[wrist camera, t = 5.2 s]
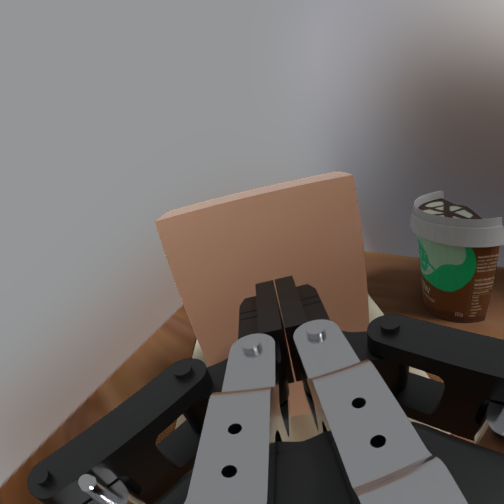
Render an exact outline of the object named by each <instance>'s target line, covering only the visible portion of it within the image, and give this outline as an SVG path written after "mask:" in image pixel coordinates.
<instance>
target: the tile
mask: <svg viewBox="0 0 504 504" xmlns="http://www.w3.org/2000/svg"><path fill="white" fill-rule="evenodd" d="M155 224H156V227H157V230H158V233H159V236H160V239H161V242H162V245H163V249H164V251H165V254H166V257H167V260H168V263H169V266H170V269H171V272H172V275H173V277H174V280H175V283H176V286H177V288H178V291H179V294H180V297H181V299H182V302H183V305H184V307H185V310H186V312H187V315H188V318H189V320H190V323H191V325H192V328H193V330H194V333H195V335H196V338H197V340H198V342H199V345H200V347H201V350H202V352H203V354H204V357H205V359H206V361H207V364H208V366H212V365H214V364H217V363H219V362H222V361H224V360H225V359H227V358H228V357H229V352H230V348H231V346H232V345H233V344H234V343H235V342H236V341H237V340H238V328H239V306H240V305H241V303H242V302H243V300H244V299H245V298H249V297H253V296H256V288H255V284H257V283H262V282H266V281H270V280H273V282H274V286H275V290H276V295H277V299H278V294H277V289H276V284H275V279H279V278H283V277H287V276H291V275H292V277H293V279H294V282H295V285H296V287H297V286H301V285H305V284H309V285H310V286H312V287H314V288H316V291H317V293H318V295H319V297H320V299H321V302H322V303H323V305H324V308H325V310H326V312H327V314H328V316H329V318H330V321H332V322H334V323H336V324H337V325H338V327H339V328H340V330H342V331H347V332H362V331H367V327H368V325H369V307H368V290H367V277H366V265H365V255H364V246H363V237H362V229H361V221H360V214H359V207H358V200H357V194H356V188H355V182H354V176H353V175H352V174H348V173H344V172H339V171H336V172H331V173H325V174H320V175H315V176H311V177H306V178H301V179H296V180H291V181H287V182H283V183H278V184H273V185H269V186H265V187H260V188H256V189H252V190H248V191H243V192H239V193H235V194H231V195H227V196H224V197H219V198H215V199H212V200H208V201H204V202H200V203H197V204H193V205H189V206H185V207H182V208H178V209H175V210H171V211H168V212H167V213H166V214H164V215H163V216H162V217H160V218H159V219H158V220H156V221H155ZM278 303H279V299H278ZM279 308H280V304H279ZM280 312H281V309H280ZM281 316H282V314H281ZM282 321H283V319H282ZM283 325H284V324H283ZM284 330H285V329H284ZM285 336H286V333H285ZM286 341H287V338H286ZM287 346H288V342H287ZM288 351H289V346H288ZM289 356H290V361H291V367H292V372H293V377H294V382H293V383H289V384H288V385H289V399H290V410H291V417H292V416H297V415H302V414H306V413H310V410H309V407H308V404H307V401H306V397H305V392H304V387H303V382H302V381H297V382H296V378H295V373H294V369H293V364H292V360H291V355H290V351H289Z"/></svg>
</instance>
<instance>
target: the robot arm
mask: <svg viewBox="0 0 504 504" xmlns="http://www.w3.org/2000/svg"><path fill="white" fill-rule="evenodd" d="M275 284H276V289H277V294H278V299H279V303H278V299H277V295H276V290H275V286H274V282H273V280H270V281H266V282H262V283H257V284H255V288H256V296H253V297H249V298H245V299H244V300H243V302H242V303H241V305H240V306H239V328H238V340H237V341H236V342H235V343H234V344H233V345H232V346H231V348H230V352H229V357H228V358H227V359H225V360H224V361H222V362H219V363H217V364H214V365H212V366H209V367H206V365H205V363H204V362H203V361H201V360H199V359H195V358H189V359H184V360H180V361H178V362H176V363H174V364H172V365H171V366H170V367H168V368H167V369H166V370H165V371H163V372H162V373H161V374H160V375H158V376H157V377H156V378H154V379H153V380H152V381H151V382H149V383H148V384H147V385H145V386H144V387H143V388H142V389H140V390H139V391H138V392H136V393H135V394H134V395H132V396H131V397H130V398H128V399H127V400H126V401H125V402H123V403H122V404H121V405H119V406H118V407H117V408H115V409H114V410H113V411H111V412H110V413H109V414H107V415H106V416H104V417H103V418H102V419H100V420H99V421H98V422H96V423H95V424H94V425H92V426H91V427H89V428H88V429H87V430H85V431H84V432H83V433H81V434H80V435H78V436H77V437H76V438H74V439H73V440H71V441H70V442H69V443H67V444H66V445H64V446H63V447H62V448H60V449H59V450H57V451H56V452H54V453H53V454H51V455H50V456H49V457H47V458H46V459H44V460H43V461H41V462H40V463H38V464H37V465H36V466H35V467H34V468H33V469H32V470H31V472H30V473H29V476H28V481H27V485H28V489H29V491H30V493H31V494H32V495H33V496H34V497H36V498H37V499H38V500H40V501H41V502H42V503H44V504H504V340H502V339H497V338H493V337H489V336H484V335H480V334H476V333H471V332H467V331H463V330H459V329H454V328H450V327H446V326H442V325H438V324H434V323H430V322H426V321H421V320H417V319H413V318H409V317H405V316H402V315H396V314H388V315H383V316H380V317H377V318H375V319H374V320H372V321H371V322H370V323H369V325H368V327H367V331H362V332H347V331H342V330H340V328H339V327H338V325H337V324H336V323H334V322H332V321H330V318H329V316H328V314H327V312H326V310H325V308H324V305H323V303H322V302H321V299H320V297H319V295H318V293H317V291H316V288H314V287H312V286H310V285H309V284H305V285H301V286H297V287H296V285H295V282H294V279H293V277H292V275H291V276H287V277H283V278H279V279H275ZM279 304H280V308H279ZM280 309H281V312H280ZM281 314H282V316H281ZM282 319H283V321H282ZM283 324H284V325H283ZM284 329H285V330H284ZM285 333H286V336H285ZM286 338H287V341H286ZM287 342H288V346H289V351H290V355H291V360H292V364H293V369H294V373H295V378H296V382H297V381H302V382H303V387H304V392H305V397H306V401H307V404H308V407H309V410H310V413H311V416H312V419H313V422H314V425H315V428H316V431H317V434H318V435H317V436H314V437H312V438H310V439H307V440H305V441H300V442H292V433H291V410H290V399H289V385H288V384H289V383H293V382H294V377H293V372H292V367H291V361H290V356H289V351H288V346H287ZM409 367H412V368H415V369H418V370H422V371H425V372H428V373H431V374H434V375H437V376H439V377H440V378H441V379H442V380H443V381H444V383H442V382H439V381H435V380H432V379H429V378H426V377H423V376H420V375H417V374H414V373H411V372H409ZM182 414H183V415H184V417H185V418H186V420H185V421H184V422H183V423H182V424H181V425H180V426H179V427H178V428H176V429H175V430H174V431H173V432H172V433H171V434H170V435H168V436H167V437H166V438H165V439H164V440H163V441H161V442H160V443H159V444H158V445H156V444H155V442H156V438H157V437H158V435H159V434H160V433H161V432H162V431H164V430H165V429H166V428H167V427H168V426H169V425H171V424H172V423H173V422H174V421H175V420H176V419H177V418H179V417H180V416H181V415H182ZM407 417H408V418H411V419H413V420H416V421H419V422H421V423H424V424H427V425H429V426H432V427H435V428H437V429H440V430H443V431H446V432H449V433H452V434H455V435H458V436H461V437H464V438H467V439H470V440H473V441H475V444H474V443H471V442H468V441H465V440H463V439H460V438H457V437H455V436H452V435H450V434H447V433H444V432H442V431H439V430H437V429H434V428H432V427H429V426H427V425H424V424H420V423H416V422H410V421H409V419H408V418H407Z"/></svg>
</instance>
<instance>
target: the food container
mask: <svg viewBox="0 0 504 504" xmlns="http://www.w3.org/2000/svg"><path fill="white" fill-rule="evenodd" d="M410 227H411V229H412V230H413V231H414V233H416V234H417V235H418V242H419V252H420V263H421V277H422V297H423V303H424V305H425V307H426V308H427V309H428V310H429V311H430V312H431V313H432V314H434V315H436V316H437V317H440V318H442V319H445V320H448V321H452V322H458V323H473V322H479V321H483V320H485V317H486V313H487V309H488V305H489V301H490V296H491V292H492V287H493V282H494V277H495V272H496V266H497V259H498V253H499V246H500V245H504V230H503V226H502V217H499V218H491V219H482V218H480V217H479V216H478V215H477V214H476V213H475V212H473V211H472V210H471V209H469V208H468V207H466V206H462V205H456V204H453V203H450V202H448V201H446V200H444V194H443V191H437V192H432V193H429V194H425V195H423V196H421V197H419V198H417V199H416V200H415V202H414V207H413V208H412V214H411V222H410Z"/></svg>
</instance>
